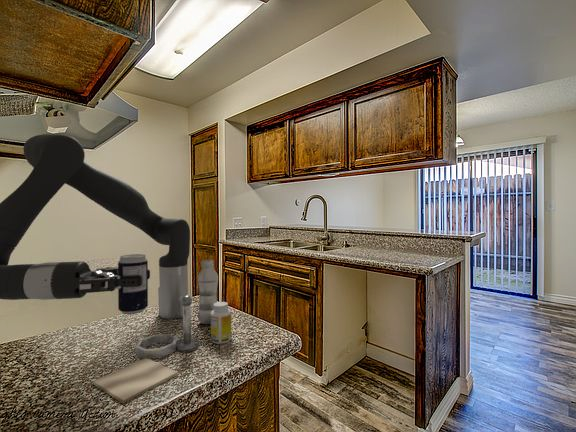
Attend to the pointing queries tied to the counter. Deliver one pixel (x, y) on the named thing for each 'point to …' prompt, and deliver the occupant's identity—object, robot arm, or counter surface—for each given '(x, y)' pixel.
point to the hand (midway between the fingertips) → (145, 277)
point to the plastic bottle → (207, 291)
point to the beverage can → (133, 297)
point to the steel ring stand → (170, 338)
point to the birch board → (134, 379)
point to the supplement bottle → (220, 323)
